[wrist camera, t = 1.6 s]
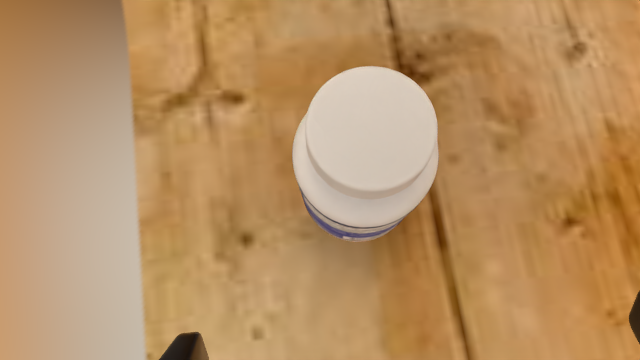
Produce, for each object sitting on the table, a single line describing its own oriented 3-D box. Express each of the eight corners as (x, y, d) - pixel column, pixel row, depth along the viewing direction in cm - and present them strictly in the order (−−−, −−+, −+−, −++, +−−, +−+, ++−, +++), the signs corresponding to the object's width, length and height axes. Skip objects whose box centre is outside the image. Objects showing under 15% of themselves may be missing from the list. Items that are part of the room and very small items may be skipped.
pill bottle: (329, 121, 23) (328, 19, 14) (426, 162, 22) (487, 81, 14) (283, 216, 22) (253, 167, 13) (384, 262, 21) (422, 242, 12)
